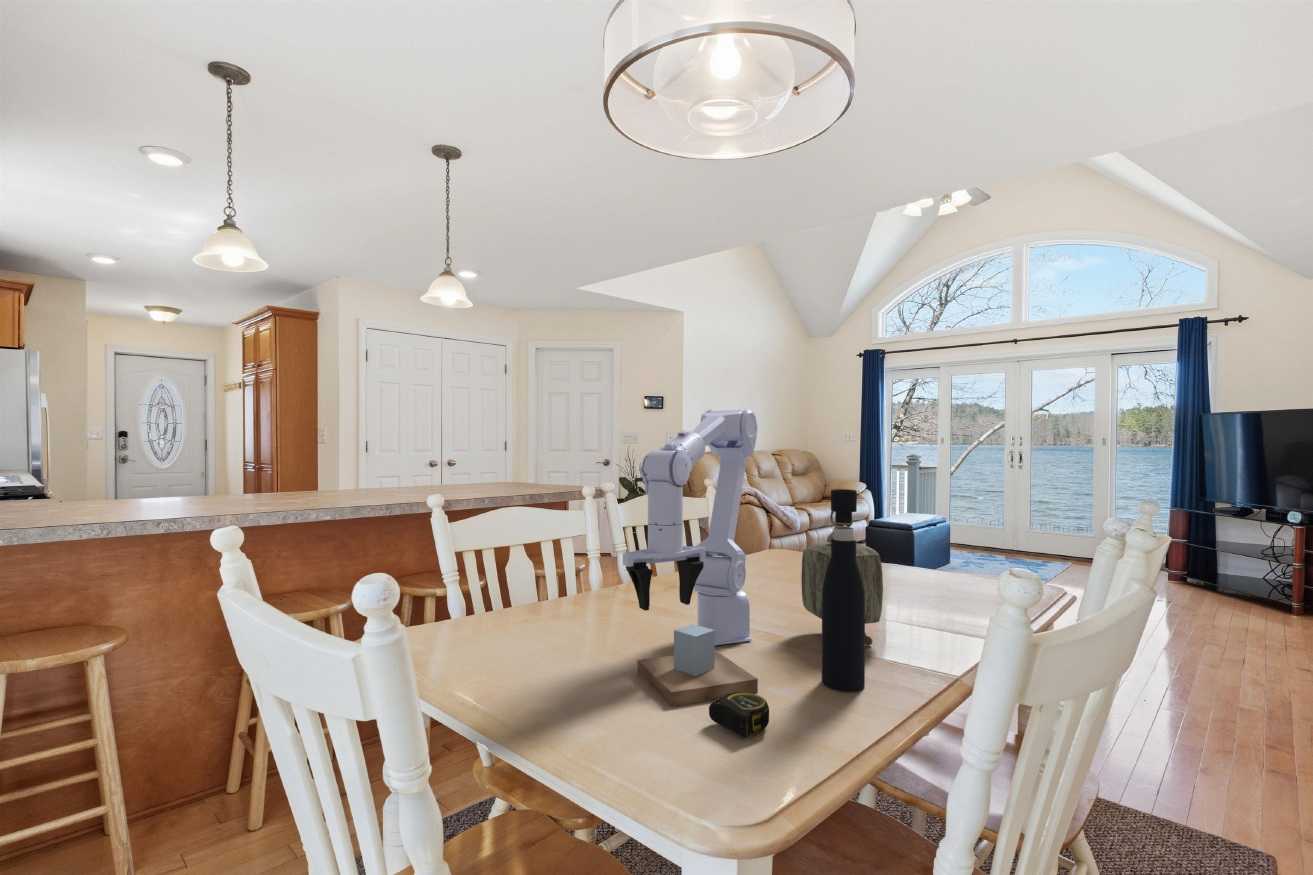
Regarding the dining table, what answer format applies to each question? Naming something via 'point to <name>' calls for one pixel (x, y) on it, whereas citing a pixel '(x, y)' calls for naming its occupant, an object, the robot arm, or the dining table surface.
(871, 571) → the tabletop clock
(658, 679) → the walnut base
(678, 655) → the slate block
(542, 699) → the dining table surface
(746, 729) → the tape measure
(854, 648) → the wine bottle
